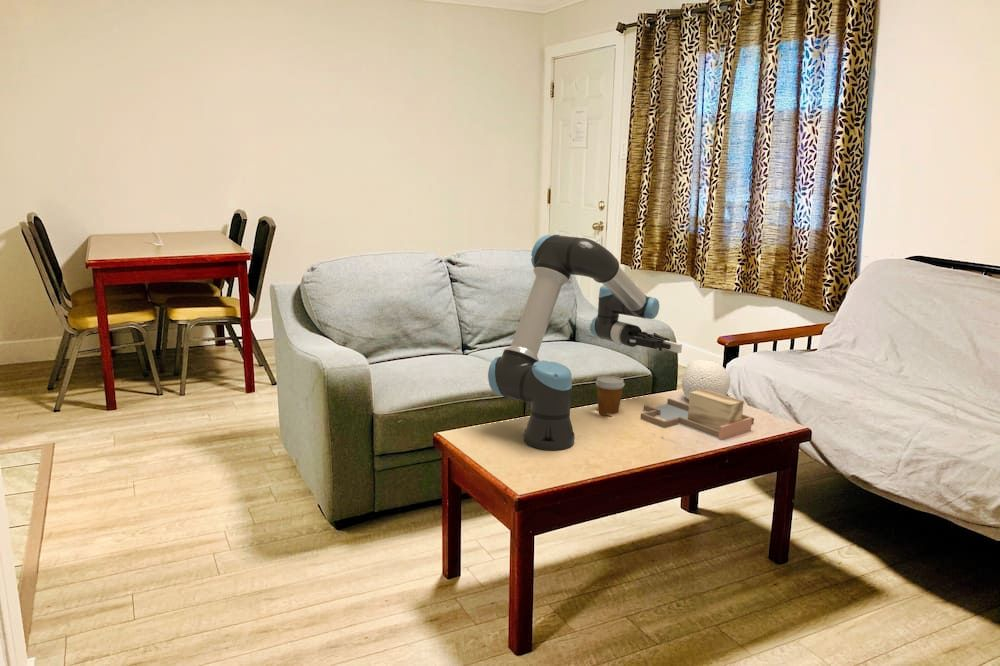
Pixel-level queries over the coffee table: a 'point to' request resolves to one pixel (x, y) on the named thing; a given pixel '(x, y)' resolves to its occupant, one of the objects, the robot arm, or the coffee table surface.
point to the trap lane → (679, 415)
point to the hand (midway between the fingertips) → (680, 348)
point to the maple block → (714, 408)
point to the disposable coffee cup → (609, 394)
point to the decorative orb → (705, 377)
